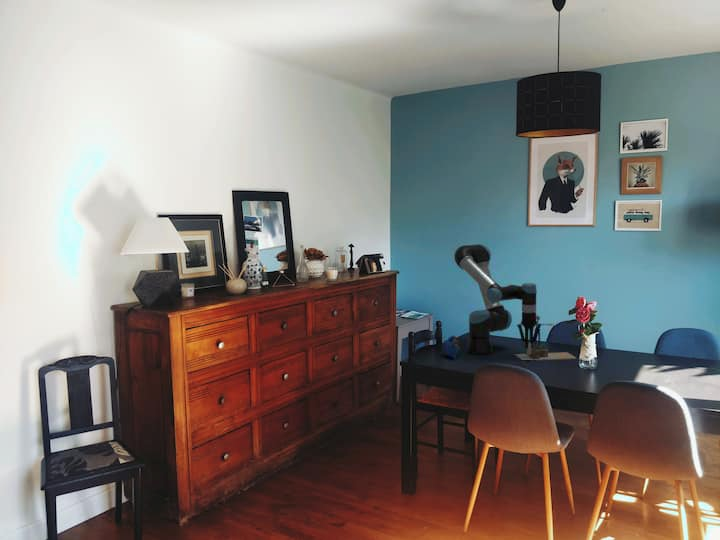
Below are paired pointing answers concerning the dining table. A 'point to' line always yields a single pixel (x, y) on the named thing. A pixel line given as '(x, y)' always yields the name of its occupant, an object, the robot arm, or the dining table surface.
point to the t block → (538, 353)
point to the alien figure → (539, 333)
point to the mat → (550, 356)
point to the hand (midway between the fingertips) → (528, 354)
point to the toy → (451, 347)
